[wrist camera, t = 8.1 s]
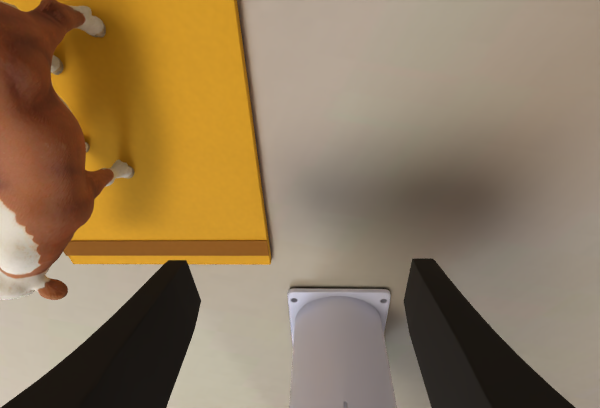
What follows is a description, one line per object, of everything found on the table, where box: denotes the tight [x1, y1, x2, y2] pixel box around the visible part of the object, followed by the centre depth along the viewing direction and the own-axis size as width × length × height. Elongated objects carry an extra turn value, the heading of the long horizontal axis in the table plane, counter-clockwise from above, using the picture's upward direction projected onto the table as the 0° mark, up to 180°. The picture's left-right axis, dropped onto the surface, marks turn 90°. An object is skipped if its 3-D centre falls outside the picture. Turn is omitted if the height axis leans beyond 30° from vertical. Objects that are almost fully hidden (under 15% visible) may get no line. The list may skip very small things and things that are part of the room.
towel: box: [0, 0, 271, 264], centre depth 18 cm, size 20×15×1 cm
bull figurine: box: [0, 0, 134, 300], centre depth 14 cm, size 4×14×8 cm, turn 168°
